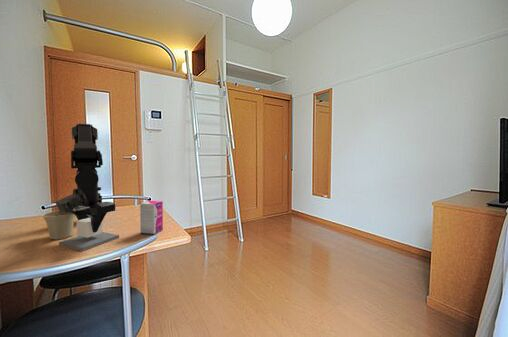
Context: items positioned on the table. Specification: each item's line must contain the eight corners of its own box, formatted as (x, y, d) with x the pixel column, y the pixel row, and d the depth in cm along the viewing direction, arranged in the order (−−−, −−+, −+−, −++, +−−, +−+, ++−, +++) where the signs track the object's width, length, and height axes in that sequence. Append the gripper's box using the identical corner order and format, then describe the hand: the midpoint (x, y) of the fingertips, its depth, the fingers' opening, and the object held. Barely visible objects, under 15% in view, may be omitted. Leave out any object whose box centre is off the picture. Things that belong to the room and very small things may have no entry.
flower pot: (49, 243, 77) (48, 218, 76) (39, 238, 82) (37, 214, 81) (82, 235, 85) (81, 211, 84) (71, 230, 90) (70, 208, 89)
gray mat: (58, 245, 76) (58, 242, 75) (96, 233, 87) (96, 230, 87) (82, 251, 71) (82, 247, 71) (119, 237, 82) (119, 235, 82)
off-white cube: (77, 235, 77) (76, 220, 77) (92, 231, 82) (91, 216, 82) (87, 237, 75) (86, 222, 75) (102, 232, 80) (101, 218, 80)
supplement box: (154, 235, 85) (153, 204, 84) (140, 234, 86) (138, 203, 85) (163, 230, 90) (162, 200, 89) (150, 229, 91) (149, 200, 91)
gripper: (41, 186, 74) (44, 235, 75) (79, 190, 66) (82, 244, 68) (79, 182, 84) (81, 225, 85) (115, 185, 77) (117, 231, 78)
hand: (89, 231), depth 79 cm, fingers closed on off-white cube, 5 cm apart
